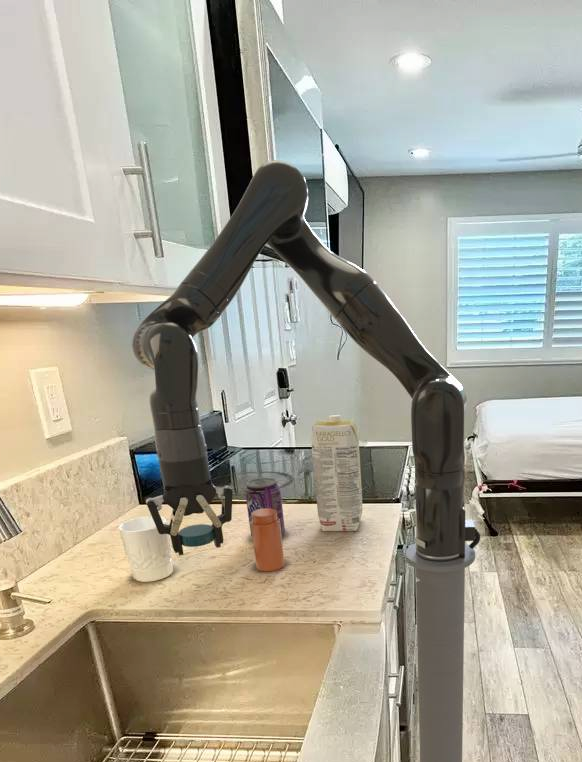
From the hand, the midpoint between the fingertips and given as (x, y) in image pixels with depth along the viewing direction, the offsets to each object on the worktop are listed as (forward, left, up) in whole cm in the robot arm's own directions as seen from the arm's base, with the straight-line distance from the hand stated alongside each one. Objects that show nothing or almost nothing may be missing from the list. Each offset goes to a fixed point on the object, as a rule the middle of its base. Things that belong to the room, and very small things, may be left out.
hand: (199, 549), depth 98 cm
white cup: (+11, -4, -7) cm, 13 cm away
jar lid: (0, 0, +3) cm, 3 cm away
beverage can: (-6, -22, -7) cm, 24 cm away
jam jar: (-10, -7, -6) cm, 14 cm away
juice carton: (-21, -27, -7) cm, 35 cm away
